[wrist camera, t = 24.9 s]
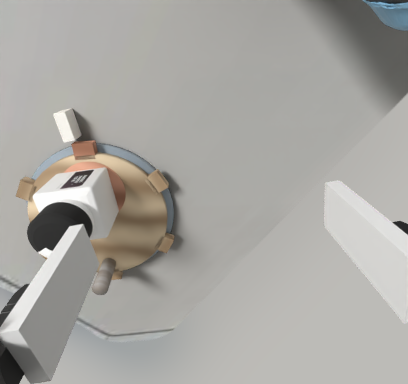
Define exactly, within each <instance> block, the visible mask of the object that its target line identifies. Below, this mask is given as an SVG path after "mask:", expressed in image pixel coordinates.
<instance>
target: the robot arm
mask: <svg viewBox="0 0 408 384" xmlns="http://www.w3.org/2000/svg"><path fill="white" fill-rule="evenodd" d="M362 1H363V2H365V3H366V4H368V5H369V6H370V7H371V8H372V10H373V11H374V12H375V14H376V15H377V16H378V18H379V19H380V20H381V21H382V22H383V23H384V24H385V25H386V26H389V27H392V28H394V29H397V30H403V31H408V0H362ZM324 227H325V228H326V229H327V230H328V231H329V233H330V234H331V235H332V236H333V238H334V239H335V240H336V241H337V243H338V244H339V245H340V246H341V247H342V249H343V250H344V251H345V252H346V253H347V255H348V256H349V257H350V258H351V260H352V261H353V262H354V263H355V265H356V266H357V267H358V268H359V269H360V271H361V272H362V273H363V274H364V276H365V277H366V278H367V279H368V280H369V282H370V283H371V284H372V285H373V286H374V288H375V289H376V290H377V291H378V293H379V294H380V295H381V296H382V298H383V299H384V300H385V301H386V302H387V304H388V305H389V306H390V307H391V308H392V310H393V311H394V312H395V313H396V314H397V316H398V317H399V318H400V319H401V321H402V322H403V323H404V324H405V323H408V224H406V223H404V222H401V221H397V222H391V221H390V220H389V219H387V218H386V217H385V216H383V215H382V214H381V213H380V212H378V211H377V210H376V209H375V208H373V207H372V206H371V205H369V204H368V203H367V202H366V201H365V200H363V199H362V198H361V197H360V196H358V195H357V194H356V193H355V192H353V191H352V190H351V189H350V188H348V187H347V186H346V185H345V184H343V183H342V182H341V181H340V180H338V181H332V182H326V183H325V208H324ZM98 267H99V261H98V259H97V256H96V254H95V251H94V249H93V246H92V244H91V241H90V239H89V237H88V234H87V232H86V229H85V227H84V224H80V225H75V226H69V228H68V229H67V231H66V232H65V234H64V235H63V237H62V238H61V239H60V241H59V242H58V244H57V245H56V247H55V248H54V250H53V251H52V253H51V254H50V255H49V257H48V258H47V260H46V261H45V263H44V264H43V266H42V267H41V269H40V270H39V271H38V273H37V274H36V276H35V277H34V279H33V280H32V282H31V283H30V284H26V285H24V286H23V287H22V288H20V289H19V290H18V291H17V292H16V293H15V294H14V295H13V296H12V298H11V299H10V300H9V302H8V303H7V306H5V307H4V309H3V310H2V311H1V314H0V384H19V383H20V381H21V379H22V377H23V375H25V376H26V378H27V379H28V381H29V382H30V384H34V383H40V382H46V381H51V379H52V377H53V375H54V372H55V370H56V367H57V365H58V363H59V360H60V358H61V355H62V353H63V351H64V348H65V346H66V343H67V341H68V339H69V336H70V334H71V331H72V329H73V327H74V324H75V322H76V319H77V317H78V315H79V312H80V310H81V307H82V305H83V303H84V300H85V298H86V295H87V293H88V291H89V288H90V286H91V283H92V281H93V279H94V276H95V274H96V271H97V269H98Z"/></svg>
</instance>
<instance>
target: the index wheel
mask: <svg viewBox="0 0 408 384" xmlns="http://www.w3.org/2000/svg"><path fill="white" fill-rule="evenodd" d="M71 145H72V149H73V153H74V154H73V155H69V156H67V157H64V158H62V159H60V160H58V161H56V162H55V163H53V164H52V165H51V166H49V167H48V168H47V169H46V170H45V171H43V172H42V173H41V174H40V176H39V177H38V178H37V179H36V180H33V179H30V178H28V177H24V178H23V179H22V180H20V184H19V187H18V191H17V194H16V197H19V198H21V199H24V200H27V201H28V216H29V220H30V223H31V221H32V220H33V219H34V218H35V217H36V216H37V215H38V214H39V211H38V209H37V207H36V204H35V202H34V200H33V195H34V194H35V193H36V192H37V191H38V190H39V189H40V188H42V187H43V186H44V185H45V184H46V183H47V182H48V181H49V180H50V179H51V178H53V177H54V176H55V175H56V174H59V173H67V172H74V171H81V170H89V169H96V168H103V167H105V168H107V171H108V174H109V178H110V181H111V185H112V188H113V192H114V195H115V199H116V202H117V206H118V209H119V212H118V214H117V216H116V219H115V221H114V223H113V226H112V228H111V230H110V232H109V235H108V237H106V238H101V239H93V240H90V241H91V244H92V246H93V249H94V251H95V254H96V256H97V259H98V261H99V267H98V269H97V271H96V272H98V274H97V277H96V279H95V281H94V284H93V286H92V291H93V292H94V293H95V294H97V295H104V294H106V293H107V291H108V288H109V285H110V282H111V280H116V279H121V278H122V275H123V270H127V269H130V268H133V267H135V266H137V265H139V264H141V263H143V262H144V261H146V260H147V259H149V258H150V257H151V256H152V255H153V254H154V253H155V252H156V251H157V250H159V251H162V252H164V253H167V252H168V250H169V248H170V247H171V245H172V243H173V241H174V235H172V234H169V233H166V228H167V219H168V216H167V206H166V202H165V199H164V196H163V194H162V192H161V191H163V190H165V189H166V188H168V187H169V183H168V181H167V180H166V179H165V177H164V176H163V175H162V173H161V172H160V171H159V170H158V169H157V170H155V171H154V172H152V173H151V174H149V175H148V174H147V173H146V172H145V171H144V170H143V169H141V168H140V167H138V166H137V165H136V164H134V163H132V162H130V161H128V160H126V159H124V158H121V157H119V156H116V155H112V154H108V153H101V152H98V151H97V146H96V141H77V142H74V143H73V144H71ZM40 255H41V254H40ZM41 256H43V255H41ZM43 257H44V258H45V259H46V260H47V257H45V256H43Z"/></svg>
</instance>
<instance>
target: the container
mask: <svg viewBox="0 0 408 384" xmlns="http://www.w3.org/2000/svg"><path fill="white" fill-rule="evenodd" d="M33 200H34V202H35V204H36V207H37V209H38V211H39V214H38V215H37V216H36V217H35V218H34V219H33V220H32V221H31V223H30V224H29V226H28V230H27V235H28V239H29V242H30V244H31V245H32V247H33V248H34V249H35V250H36V251H37V252H38V253H39V254H41V255H43V256H45V257H47V258H48V257H49V255H50V254H51V253H52V251H53V250H54V248H55V247H56V245H57V244H58V242H59V241H60V239H61V238H62V237H63V235H64V234H65V232H66V231H67V229H68V228H69V226H75V225H80V224H84V227H85V229H86V232H87V234H88V237H89V239H90V240H93V239H101V238H106V237H108V235H109V232H110V230H111V228H112V226H113V223H114V221H115V219H116V216H117V214H118V212H119V209H118V206H117V202H116V199H115V195H114V192H113V188H112V185H111V181H110V178H109V174H108V171H107V168H105V167H103V168H96V169H89V170H81V171H74V172H67V173H59V174H56V175H55V176H54V177H53V178H51V179H50V180H49V181H48V182H47V183H46V184H45V185H44V186H43V187H42V188H40V189H39V190H38V191H37V192H36V193H35V194H34V195H33Z"/></svg>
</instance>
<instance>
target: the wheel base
mask: <svg viewBox="0 0 408 384" xmlns="http://www.w3.org/2000/svg"><path fill="white" fill-rule="evenodd" d="M53 115H54V118H55V120H56V123H57V126H58V128H59V131H60V133H61V136H62V139H63V141H64V142H68V141H74V140H76V139H77V138H79V137H80V136H81V135H82V134H81V132H80V129H79V126H78V123H77V120H76V117H75V115H74V112H73V109H67V110H61V111H59V112H57V113H54V114H53ZM96 146H97V151H98V152H101V153H108V154H112V155H116V156H119V157H121V158H124V159H126V160H128V161H130V162H132V163H134V164H136V165H137V166H138V167H140V168H141V169H143V170H144V171H145V172H146V173H147V174H148V175H149V174H151V173H152V172H154V171H155V170H156V169H155V168H153V167H152V166H151V165H150V164H149V163H148V162H147V161H145V160H144V159H142V158H141V157H140V156H138V155H136V154H134V153H132V152H130V151H128V150H125V149H123V148H120V147H117V146H113V145H108V144H101V143H96ZM73 154H74V153H73V149H72V146H71V147H68V148H65V149H63V150H61V151H59V152H57V153H55V154H54V155H52V156H51V157H49V158H48V159H47V160H46V161H44V162H43V163H42V164H41V165H40V167H39V168H38V169H37V170H36V172H35V173H34V175H33V176H32V179H33V180H36V179H37V178H38V177H39V176H40V174H41V173H42V172H43V171H45V170H46V169H47V168H48V167H49V166H51V165H52V164H53V163H55V162H56V161H58V160H60V159H62V158H64V157H67V156H69V155H73ZM161 192H162V194H163V196H164V199H165V202H166V206H167V216H168V219H167V228H166V233H169V234H170V232H171V229H172V225H173V218H174V207H173V201H172V197H171V194H170V191H169V189H168V188H166V189H165V190H163V191H161ZM27 210H28V201H27ZM158 251H159V250H157V251H156V252H155V253H154V254H153V255H152V256H154V255H155V254H156V253H157V252H158ZM152 256H151V257H152ZM151 257H150V258H151ZM147 260H148V259H147ZM144 262H145V261H144Z"/></svg>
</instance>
